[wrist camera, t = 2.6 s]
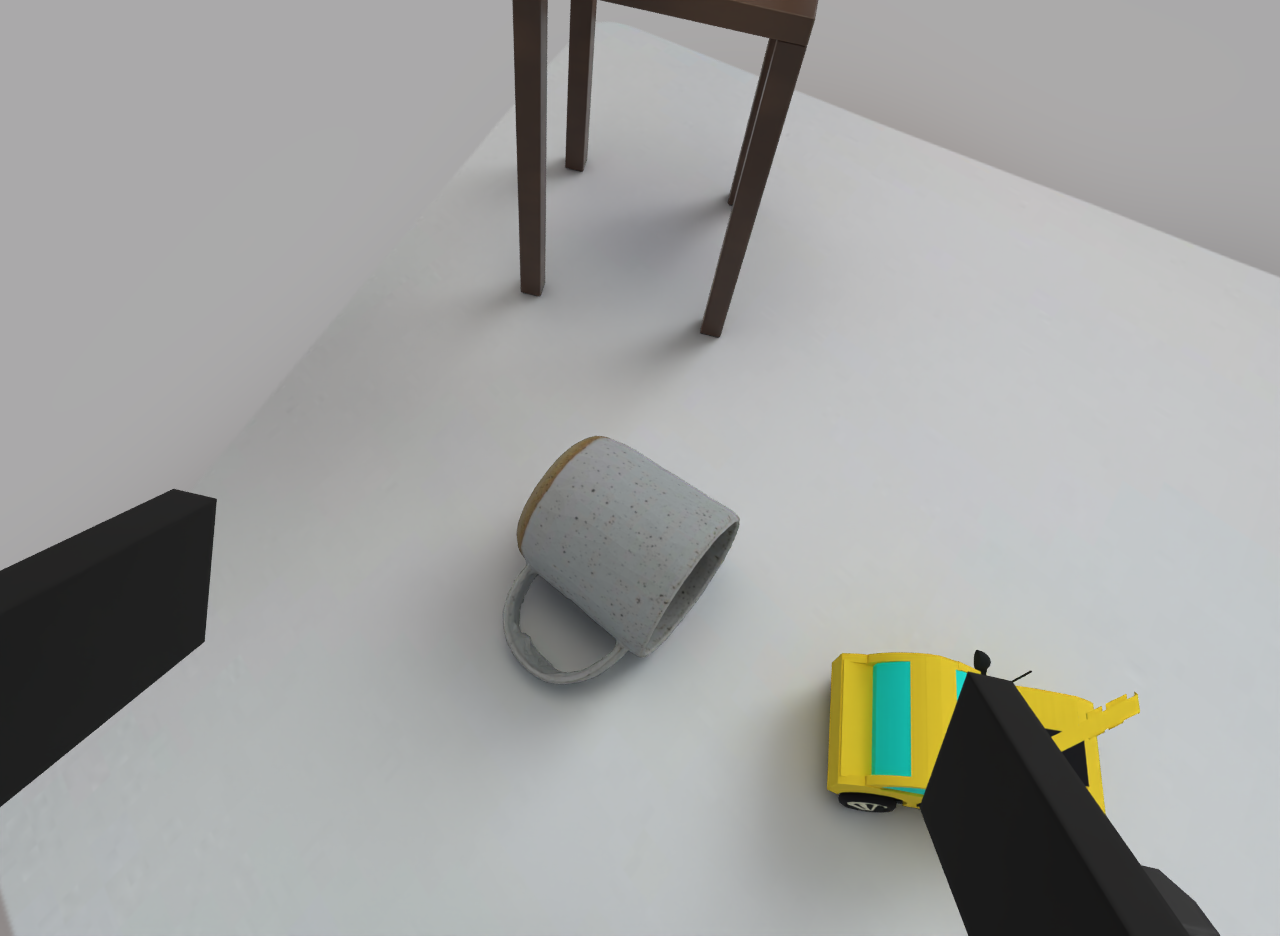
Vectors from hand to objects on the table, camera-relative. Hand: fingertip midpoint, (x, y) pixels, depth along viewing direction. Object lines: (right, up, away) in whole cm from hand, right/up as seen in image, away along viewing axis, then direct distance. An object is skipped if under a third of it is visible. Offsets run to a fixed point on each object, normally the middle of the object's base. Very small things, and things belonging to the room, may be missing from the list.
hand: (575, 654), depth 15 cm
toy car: (+15, -10, +25) cm, 31 cm away
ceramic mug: (-1, -3, +28) cm, 28 cm away
